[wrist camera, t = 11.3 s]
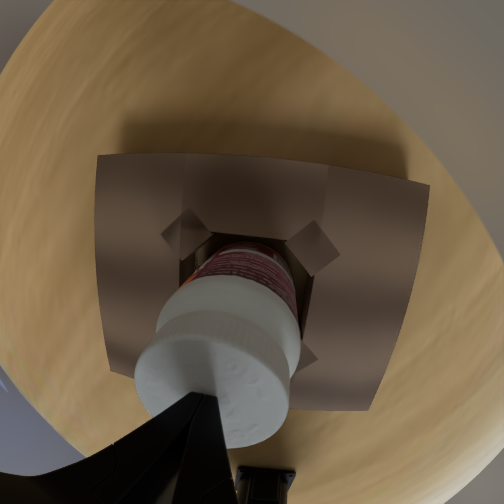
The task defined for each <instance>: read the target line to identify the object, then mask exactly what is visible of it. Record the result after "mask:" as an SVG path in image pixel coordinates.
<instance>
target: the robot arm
mask: <svg viewBox="0 0 504 504" xmlns="http://www.w3.org/2000/svg"><path fill="white" fill-rule="evenodd" d="M295 476H296V472H294V471H281V470H269V469H259V468H250V467H242V466H240V467H238V468H237V475H236V482H235V486H234V481H233V479H232V472H231V468H230V463H229V458H228V453H227V448H226V442H225V437H224V432H223V426H222V420H221V415H220V409H219V403H218V397H217V396H214V395H208V394H205V395H204V394H203V393H199V392H194V391H191V392H189V393H188V394H186V395H185V396H184V397H182V398H181V399H179V400H178V401H177V402H175V403H174V404H172V405H171V406H169V407H168V408H167V409H165V410H164V411H162V412H161V413H159V414H158V415H156V416H155V417H153V418H152V419H150V420H149V421H147V422H146V423H144V424H143V425H141V426H140V427H138V428H137V429H135V430H134V431H132V432H131V433H129V434H127V435H126V436H124V437H123V438H121V439H119V440H118V441H116V442H115V443H114V445H113V444H111V445H109V446H108V447H106V448H104V449H103V450H101V451H99V452H97V453H95V454H93V455H92V456H90V457H87V458H85V459H83V460H81V461H78V462H76V463H73V464H71V465H68V466H66V467H63V468H60V469H57V470H54V471H52V472H49V473H46V474H42V475H37V476H20V475H14V474H8V473H3V472H0V504H287V492H288V490H289V488H290V486H291V484H292V482H293V480H294V478H295ZM236 490H237V494H236Z"/></svg>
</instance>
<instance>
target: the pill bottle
mask: <svg viewBox="0 0 504 504" xmlns="http://www.w3.org/2000/svg"><path fill="white" fill-rule="evenodd" d="M300 339H301V338H300V330H299V325H298V316H297V307H296V297H295V287H294V280H293V276H292V273H291V270H290V268H289V266H288V264H287V263H286V261H285V260H284V259H283V258H282V257H281V256H280V255H279V254H278V253H277V252H276V251H274V250H273V249H271V248H269V247H268V246H265V245H263V244H260V243H256V242H249V241H243V242H236V243H232V244H229V245H227V246H224V247H223V248H221V249H219V250H218V251H217V252H215V253H214V254H213V255H212V256H211V257H210V258H209V259H208V260H207V261H206V262H205V263H203V264H202V265H201V266H200V268H199V269H198V270H196V271H195V272H194V274H193V275H192V276H190V277H189V279H187V280H186V281H185V282H184V283H183V285H182V286H181V287H180V288H179V289H178V290H177V291H176V292H175V293H174V294H173V295H172V296H171V297H170V298H169V300H168V301H167V302H166V304H165V305H164V307H163V308H162V310H161V312H160V315H159V318H158V321H157V325H156V334H155V335H154V337H153V339H152V340H151V342H150V343H149V344H148V346H147V347H146V348H145V349H144V351H143V352H142V353H141V355H140V357H139V358H138V361H137V364H136V367H135V372H134V381H135V387H136V391H137V394H138V396H139V398H140V400H141V402H142V404H143V405H144V407H145V408H146V410H147V411H148V412H149V413H150V414H151V415H152V417H155V416H156V415H158V414H159V413H161V412H162V411H164V410H165V409H167V408H168V407H169V406H171V405H172V404H174V403H175V402H177V401H178V400H179V399H181V398H182V397H184V396H185V395H186V394H188V393H189V392H191V391H194V392H199V393H203V394H204V395H205V394H208V395H214V396H217V397H218V403H219V409H220V415H221V420H222V426H223V432H224V437H225V442H226V448H241V447H247V446H250V445H254V444H257V443H259V442H262V441H264V440H266V439H267V438H269V437H270V436H272V435H273V434H274V433H276V431H277V430H278V429H279V428H280V427H281V426H282V424H283V423H284V421H285V419H286V416H287V413H288V409H289V385H290V378H291V377H292V375H293V374H294V372H295V370H296V367H297V365H298V361H299V357H300V349H301V347H300Z"/></svg>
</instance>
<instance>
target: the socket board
mask: <svg viewBox="0 0 504 504" xmlns="http://www.w3.org/2000/svg"><path fill="white" fill-rule="evenodd" d="M429 190H430V185H426V184H422V183H418V182H414V181H410V180H406V179H401V178H397V177H392V176H388V175H383V174H378V173H373V172H367V171H362V170H357V169H351V168H345V167H339V166H332V165H326V164H319V163H311V162H304V161H296V160H287V159H277V158H267V157H256V156H242V155H226V154H204V153H132V154H110V155H98V159H97V170H96V186H95V259H96V274H97V286H98V296H99V305H100V313H101V320H102V327H103V333H104V339H105V345H106V350H107V356H108V361H109V365H110V370H111V371H113V372H116V373H119V374H122V375H125V376H128V377H131V378H134V372H135V367H136V364H137V361H138V358H139V357H140V355H141V353H142V352H143V351H144V349H145V348H146V347H147V346H148V344H149V343H150V342H151V340H152V339H153V337H154V335H155V334H156V325H157V321H158V318H159V315H160V312H161V310H162V308H163V307H164V305H165V304H166V302H167V301H168V300H169V298H170V297H171V296H172V295H173V294H174V293H175V292H176V291H177V290H178V289H179V288H180V287H181V286H182V285H183V283H184V282H185V281H186V280H187V279H189V277H190V276H192V275H193V274H194V264H195V251H196V250H198V249H199V248H200V247H201V246H202V245H204V244H205V243H206V242H207V241H208V240H209V239H211V238H212V237H213V236H214V235H215V234H216V233H218V232H219V233H228V234H237V235H247V236H256V237H264V238H273V239H282V240H284V243H285V244H286V245H287V247H288V248H289V249H290V250H291V252H292V253H293V254H294V255H295V257H296V258H297V259H298V260H299V262H300V263H301V264H302V266H303V267H304V268H305V269H306V271H307V272H308V275H307V282H306V288H305V294H304V300H303V306H302V311H301V317H300V318H299V317H298V325H299V330H300V338H301V339H300V347H301V349H300V357H299V361H298V365H297V367H296V370H295V372H294V374H293V375H292V377H291V378H290V385H289V409H302V410H324V411H365V410H368V409H369V407H370V405H371V403H372V401H373V399H374V397H375V394H376V392H377V390H378V387H379V385H380V383H381V380H382V378H383V376H384V373H385V371H386V368H387V366H388V363H389V360H390V358H391V355H392V352H393V350H394V347H395V344H396V341H397V338H398V335H399V332H400V329H401V326H402V323H403V320H404V316H405V313H406V309H407V306H408V302H409V299H410V295H411V291H412V287H413V283H414V279H415V275H416V271H417V266H418V261H419V257H420V252H421V246H422V241H423V235H424V229H425V222H426V215H427V208H428V199H429Z"/></svg>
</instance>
